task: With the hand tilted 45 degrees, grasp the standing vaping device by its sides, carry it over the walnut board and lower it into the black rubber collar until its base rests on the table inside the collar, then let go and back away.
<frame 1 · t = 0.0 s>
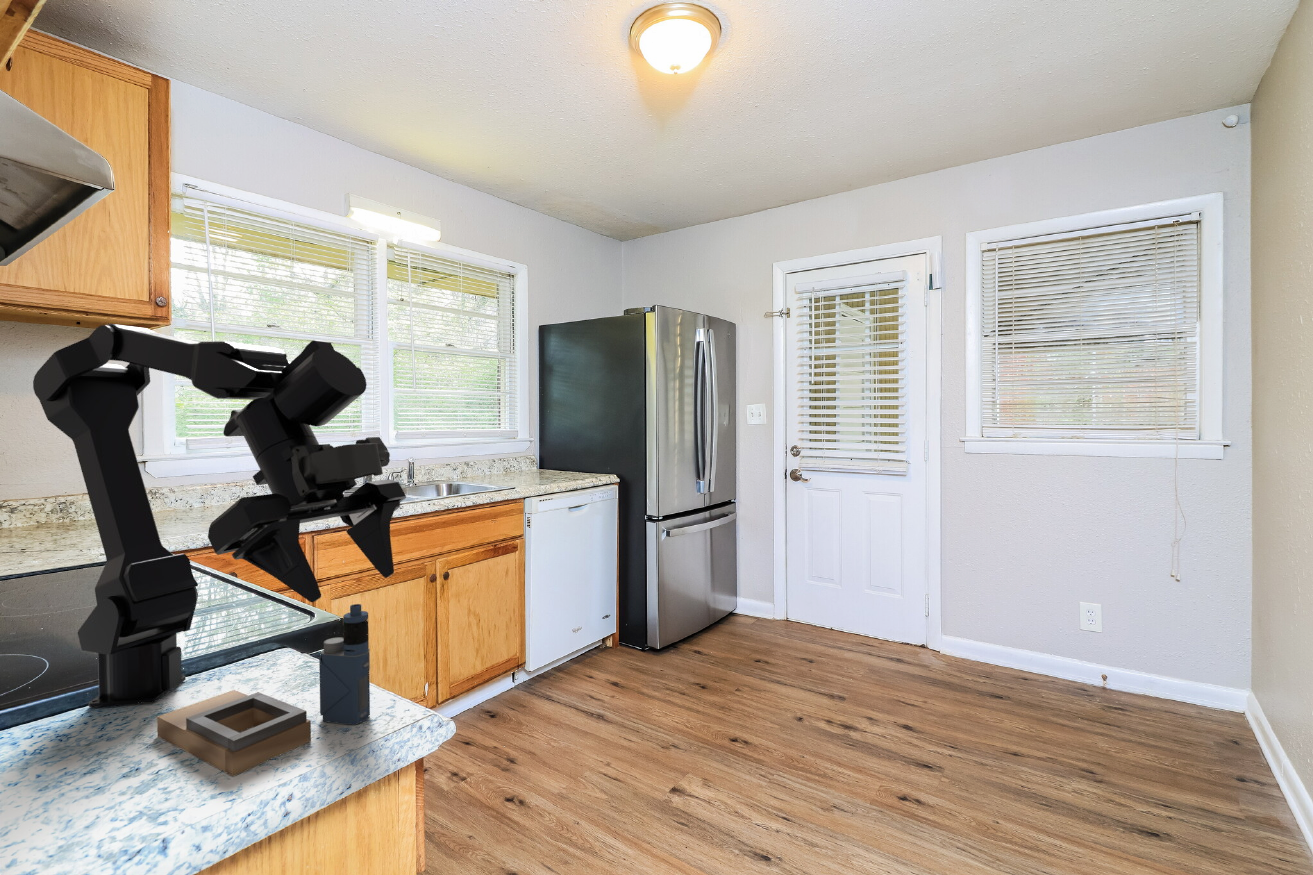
hand: (355, 586, 61), 15 cm above the countertop, tool tilted 35°, fingers open, 9 cm apart
walnut socket board: (233, 738, 61), on the countertop
vaping device: (345, 720, 65), on the countertop
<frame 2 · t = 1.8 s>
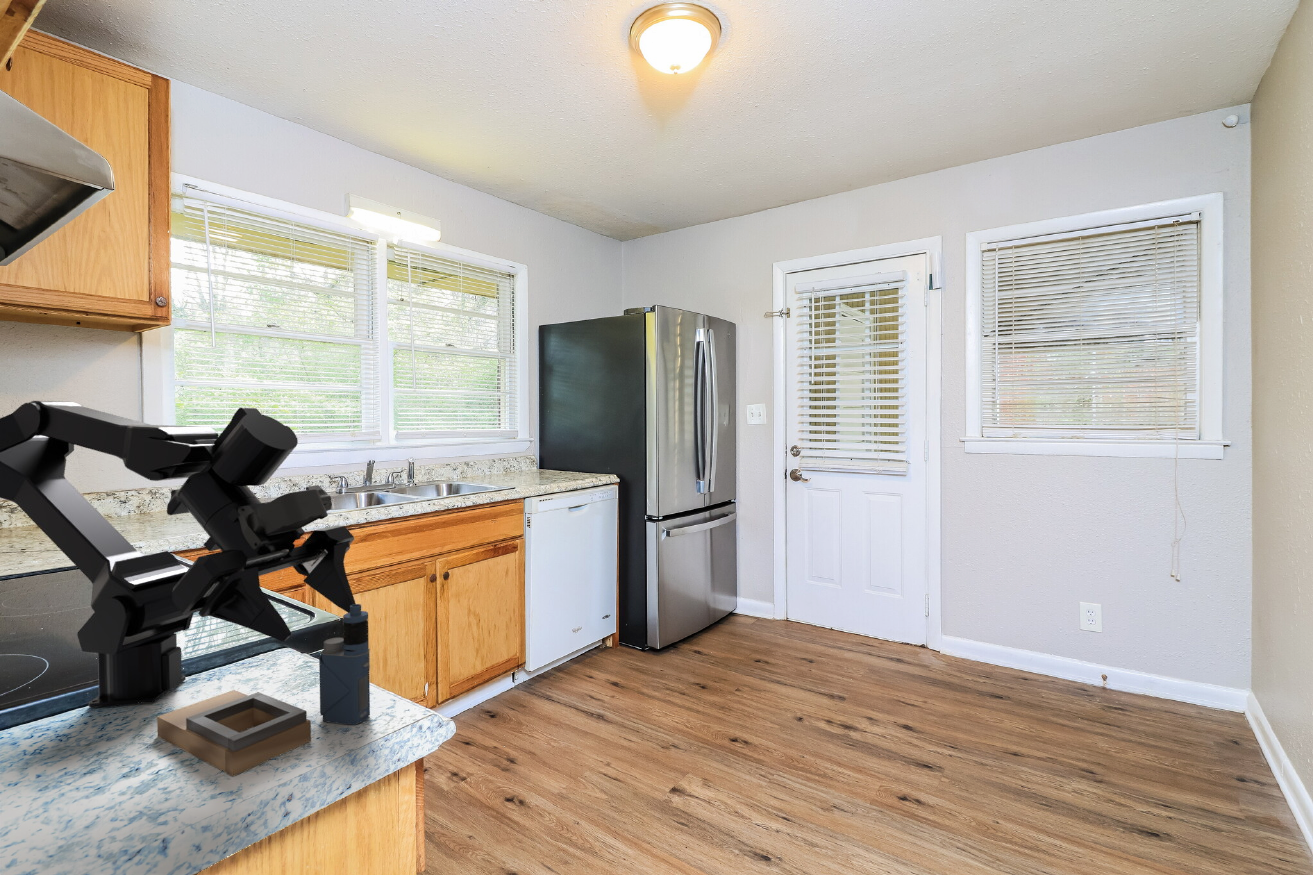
hand: (322, 622, 66), 10 cm above the countertop, tool tilted 45°, fingers open, 9 cm apart
nothing on the countertop moved.
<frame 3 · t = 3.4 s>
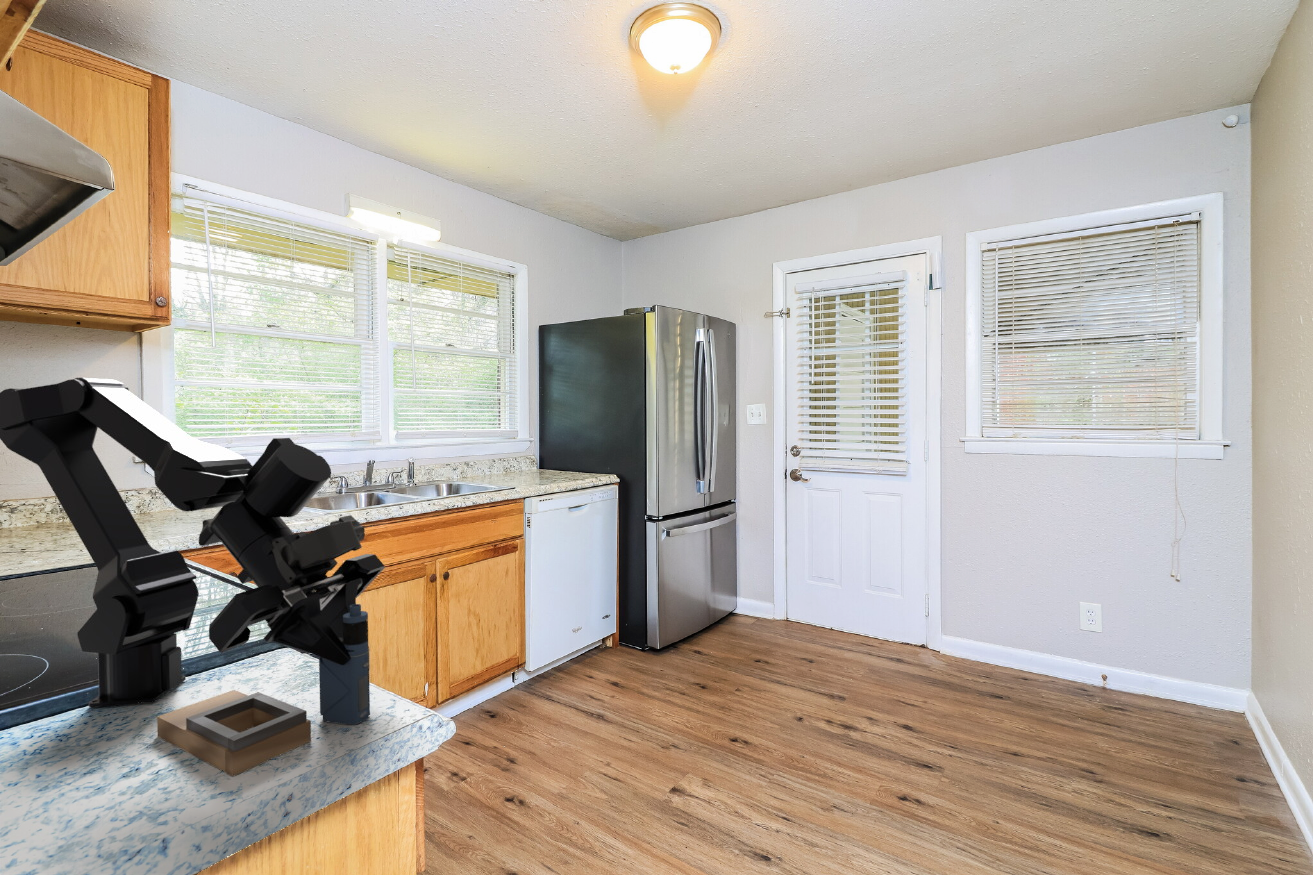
hand: (356, 657, 65), 7 cm above the countertop, tool tilted 45°, fingers closed on vaping device, 2 cm apart
vaping device: (345, 720, 65), on the countertop, touching gripper
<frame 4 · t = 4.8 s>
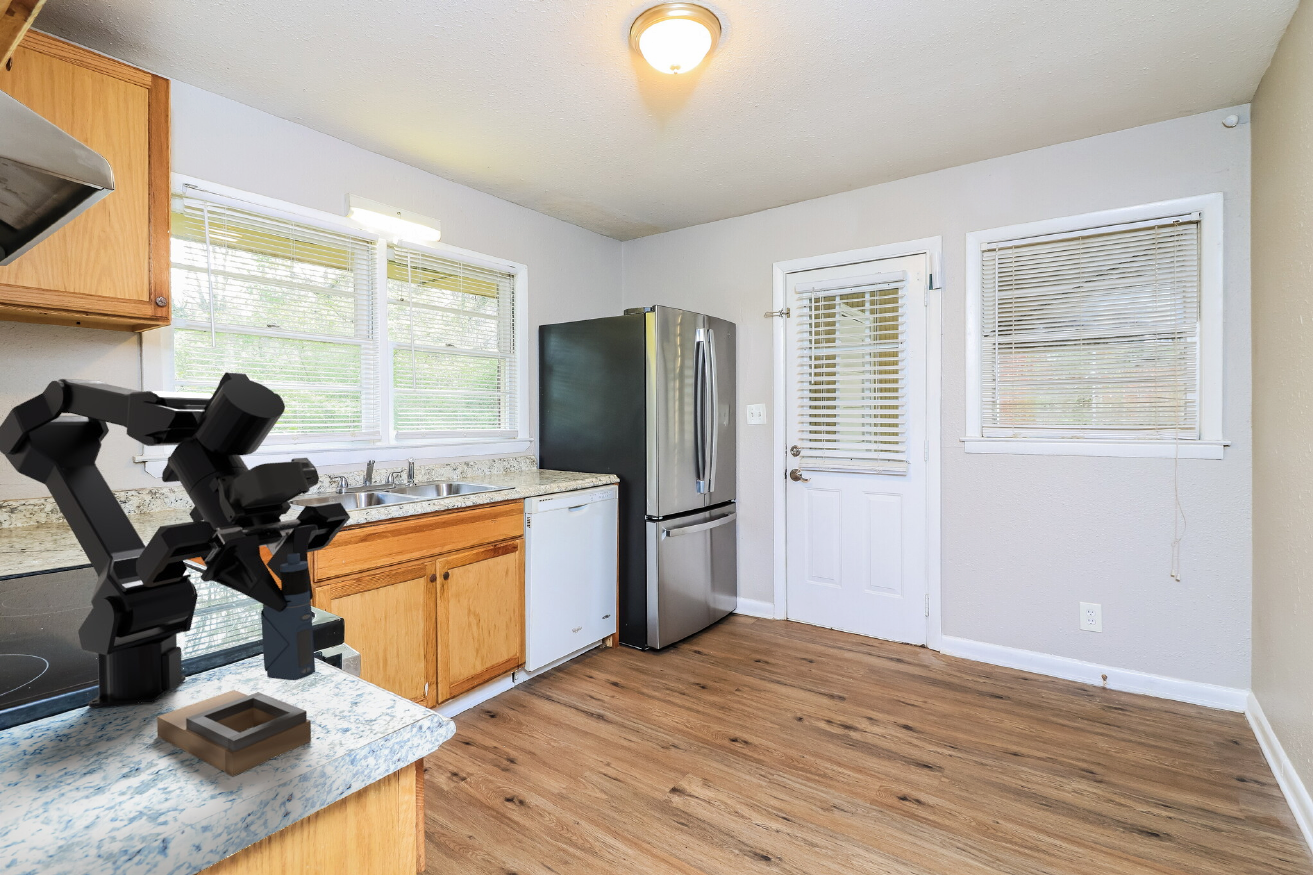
hand: (296, 604, 61), 13 cm above the countertop, tool tilted 45°, fingers closed on vaping device, 2 cm apart
vaping device: (290, 676, 62), point 6 cm above the countertop, touching gripper
when the fingers open (8 cm above the countertop, at t = 6.6 s): vaping device stays where it is, resting in walnut socket board.
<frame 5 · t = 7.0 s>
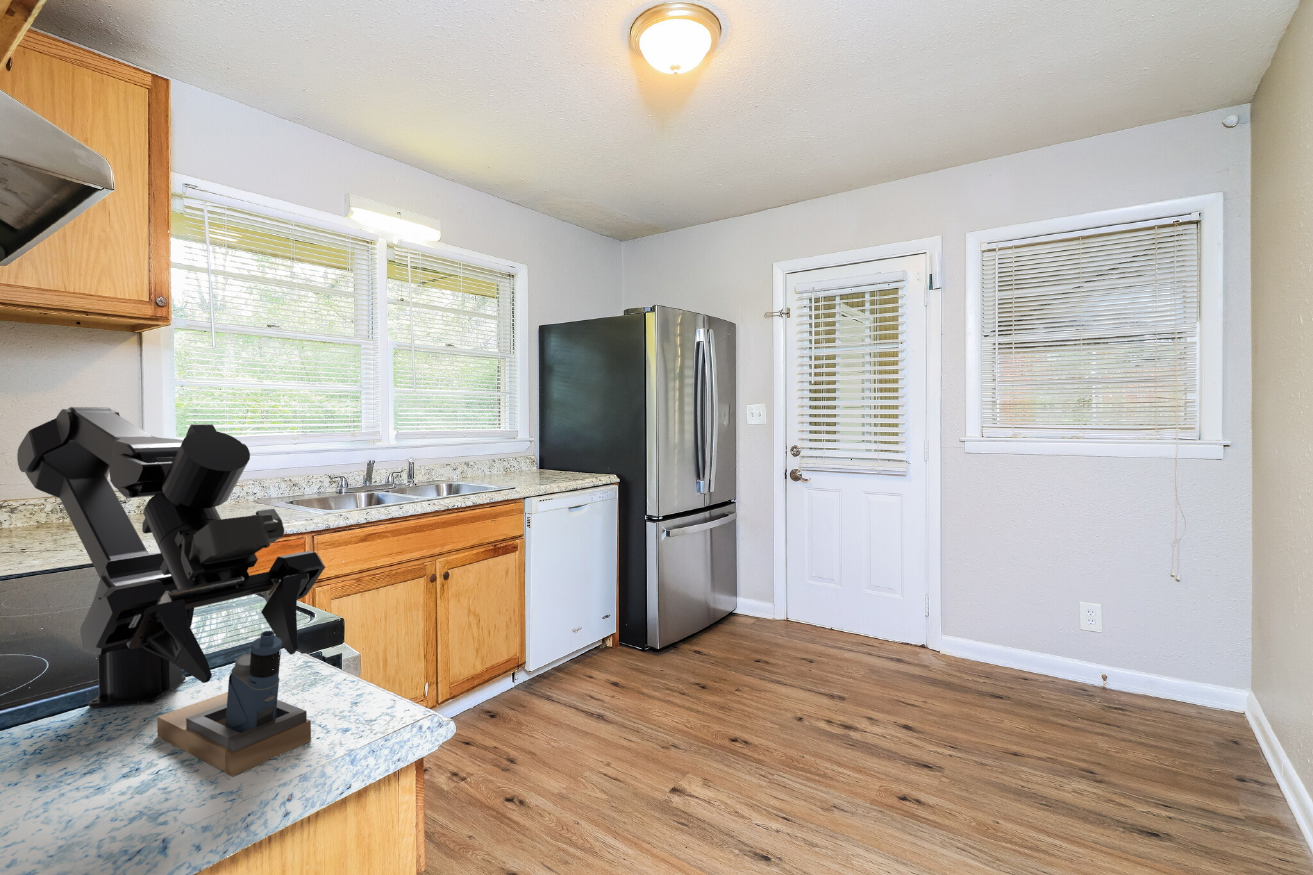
hand: (253, 665, 59), 8 cm above the countertop, tool tilted 45°, fingers open, 7 cm apart
vaping device: (249, 742, 60), resting in walnut socket board
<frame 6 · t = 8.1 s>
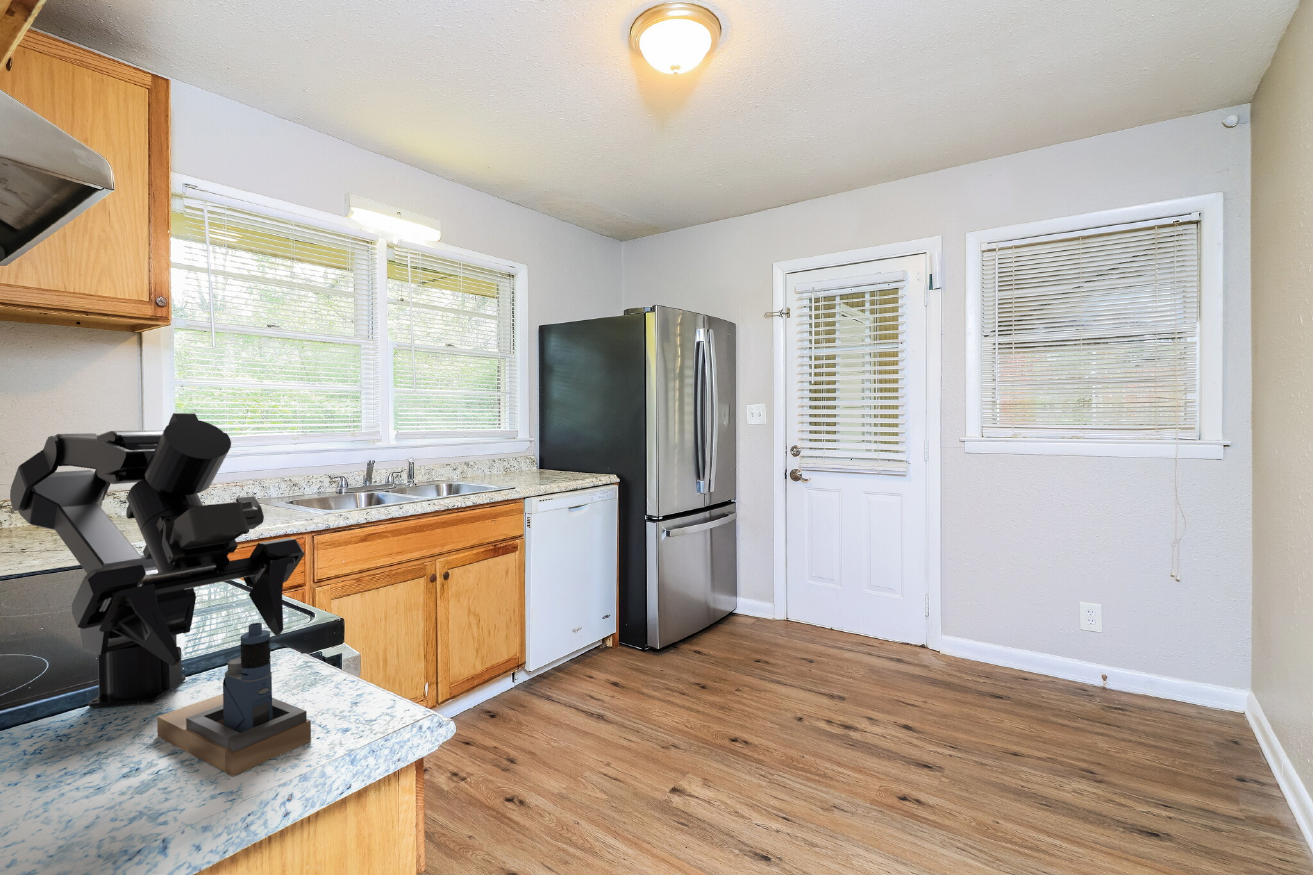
hand: (231, 647, 61), 9 cm above the countertop, tool tilted 45°, fingers open, 9 cm apart
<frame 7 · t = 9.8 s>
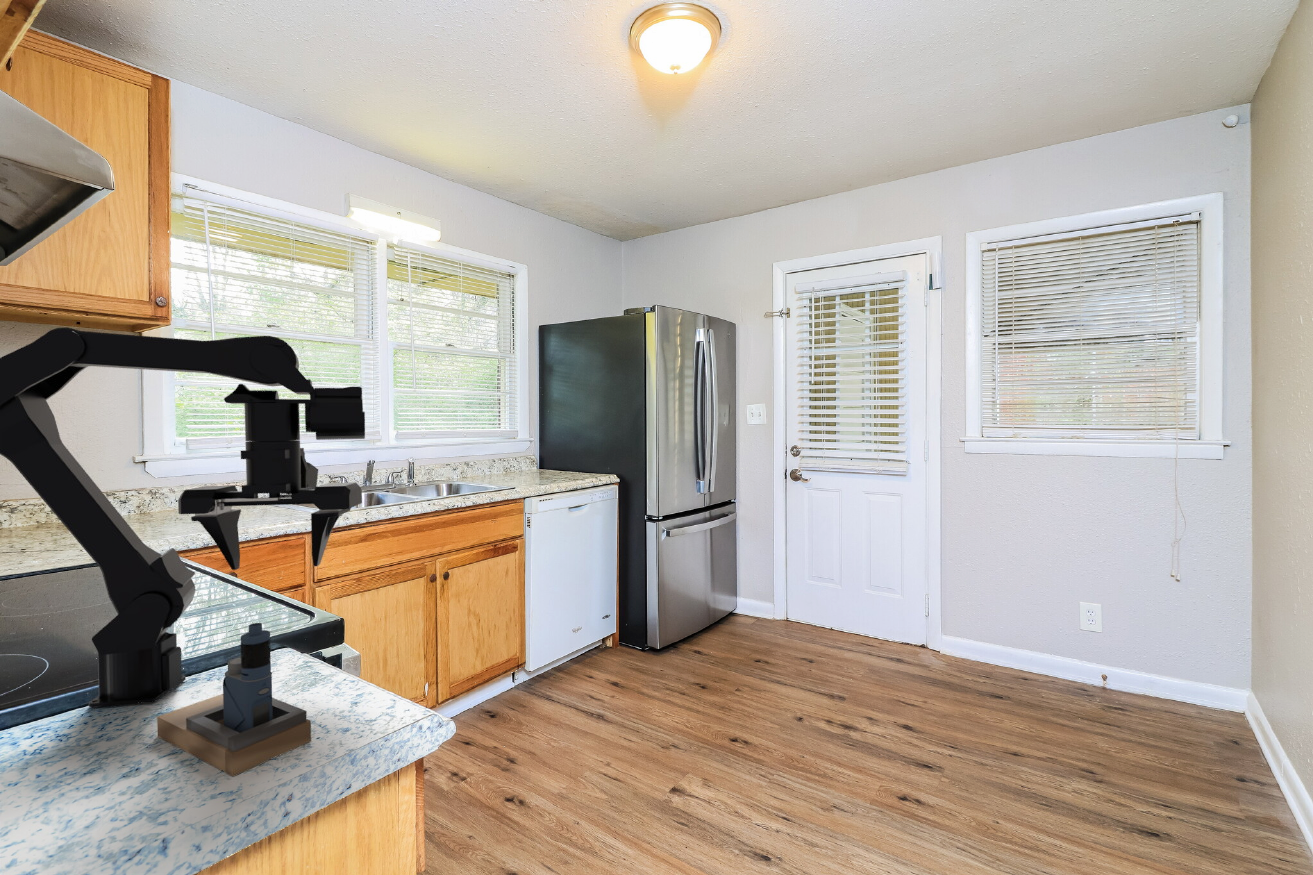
hand: (276, 567, 77), 13 cm above the countertop, tool pointing down, fingers open, 9 cm apart
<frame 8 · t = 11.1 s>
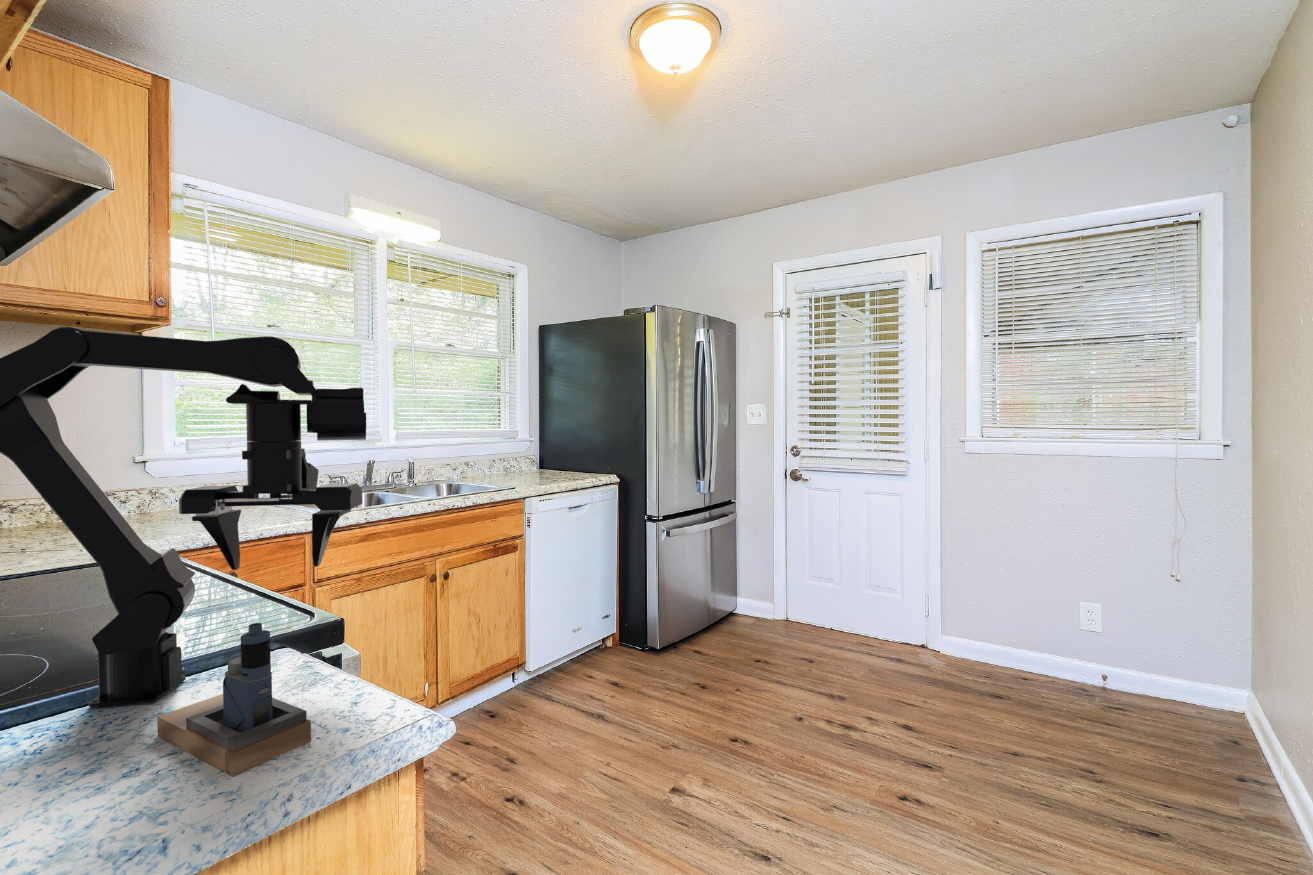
hand: (276, 567, 77), 13 cm above the countertop, tool pointing down, fingers open, 9 cm apart
at the end: vaping device 0.4 cm from the target spot, resting in walnut socket board; vaping device tilted 0°; the gripper is holding nothing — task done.
